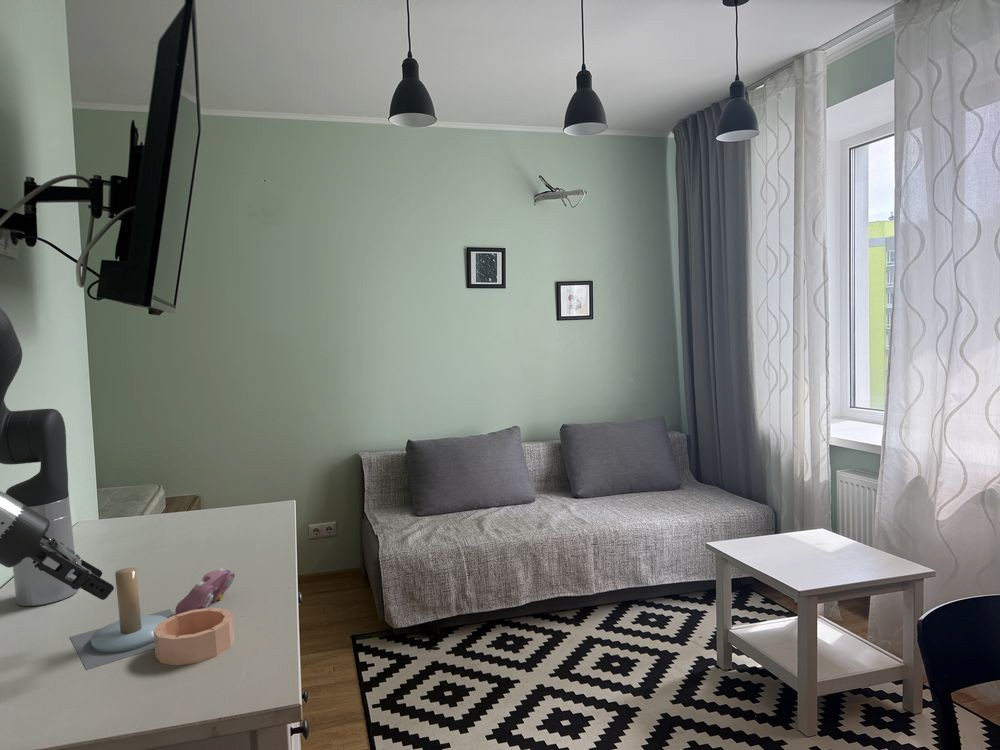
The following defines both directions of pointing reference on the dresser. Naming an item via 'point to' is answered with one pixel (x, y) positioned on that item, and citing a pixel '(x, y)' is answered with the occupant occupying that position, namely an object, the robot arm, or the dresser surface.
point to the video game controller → (206, 591)
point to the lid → (126, 619)
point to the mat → (99, 658)
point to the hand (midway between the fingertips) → (103, 585)
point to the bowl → (194, 636)
